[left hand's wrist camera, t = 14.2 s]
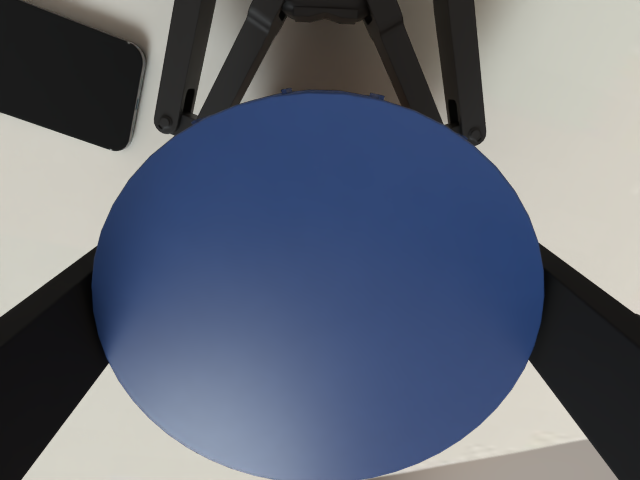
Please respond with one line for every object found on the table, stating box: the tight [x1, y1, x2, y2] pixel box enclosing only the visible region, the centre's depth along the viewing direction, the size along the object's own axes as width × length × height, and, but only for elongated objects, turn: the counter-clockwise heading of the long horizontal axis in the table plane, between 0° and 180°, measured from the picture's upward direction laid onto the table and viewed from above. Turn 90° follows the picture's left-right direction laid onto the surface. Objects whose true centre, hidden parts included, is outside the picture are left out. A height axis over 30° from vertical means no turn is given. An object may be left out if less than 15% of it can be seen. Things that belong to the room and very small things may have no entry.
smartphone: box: [0, 0, 146, 151], centre depth 26 cm, size 7×1×15 cm
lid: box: [92, 88, 544, 480], centre depth 11 cm, size 11×11×2 cm
